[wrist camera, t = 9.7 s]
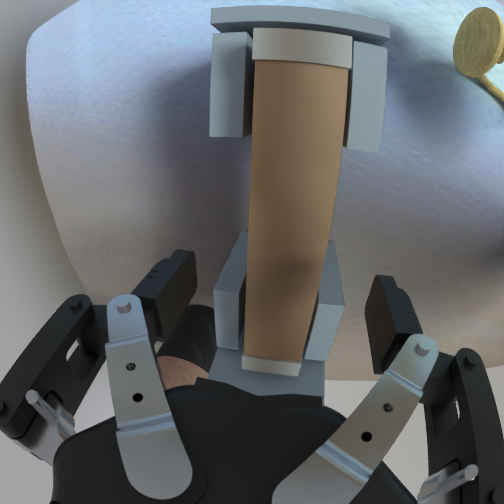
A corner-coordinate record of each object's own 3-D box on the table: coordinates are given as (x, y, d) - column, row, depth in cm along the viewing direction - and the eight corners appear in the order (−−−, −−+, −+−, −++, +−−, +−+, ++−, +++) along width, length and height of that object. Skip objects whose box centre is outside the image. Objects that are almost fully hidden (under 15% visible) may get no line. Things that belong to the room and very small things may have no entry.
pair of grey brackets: (355, 56, 17) (437, -20, 3) (320, 302, 29) (319, 439, 15) (248, 46, 18) (157, -37, 4) (240, 291, 30) (195, 420, 17)
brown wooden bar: (336, 59, 13) (352, 36, 8) (301, 324, 23) (297, 376, 18) (268, 53, 13) (253, 28, 9) (254, 318, 24) (241, 368, 19)
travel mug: (222, 300, 32) (156, 462, 14) (242, 344, 35) (200, 487, 18) (169, 305, 34) (93, 438, 17) (192, 346, 37) (139, 469, 20)
